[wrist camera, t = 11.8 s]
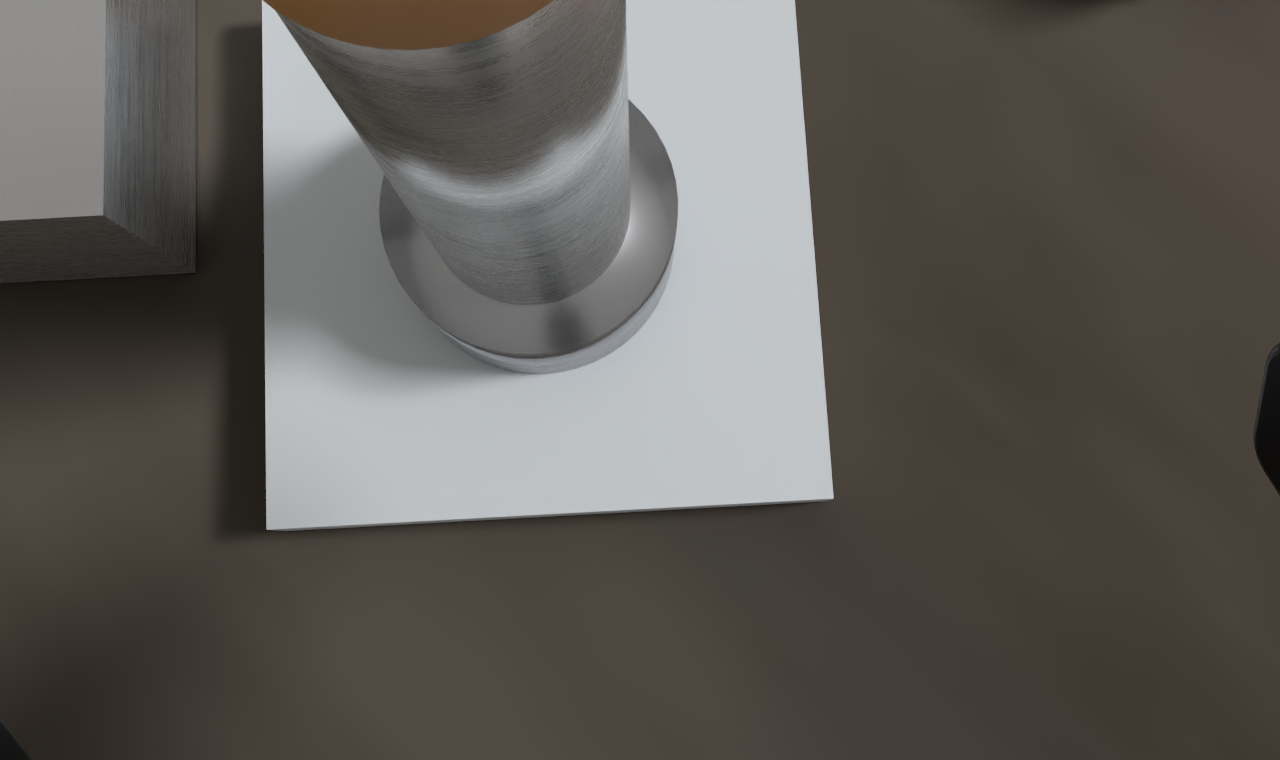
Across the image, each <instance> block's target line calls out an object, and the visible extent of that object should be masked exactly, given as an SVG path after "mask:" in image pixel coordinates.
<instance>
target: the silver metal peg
mask: <svg viewBox="0 0 1280 760" xmlns="http://www.w3.org/2000/svg"><path fill="white" fill-rule="evenodd" d="M263 1H264V2H265V3H267V4H268V5H269V6H270V7H272V8H273V9H274V10H275V11H276V13H277V14H278V16H279V17H280V19H281V20H282V22H283V23H284V25H285V26H286V28H287V29H288V31H289V32H290V33H291V35H292V36H293V38H294V39H295V41H296V42H297V44H298V45H299V47H300V48H301V50H302V51H303V53H304V54H305V56H306V57H307V59H308V60H309V62H310V63H311V65H312V66H313V68H314V69H315V71H316V72H317V74H318V75H319V77H320V78H321V80H322V81H323V83H324V84H325V86H326V87H327V89H328V90H329V92H330V93H331V95H332V96H333V98H334V99H335V101H336V102H337V104H338V105H339V107H340V108H341V110H342V111H343V113H344V114H345V116H346V117H347V119H348V120H349V122H350V123H351V125H352V126H353V128H354V129H355V131H356V132H357V134H358V135H359V137H360V138H361V140H362V141H363V143H364V144H365V146H366V147H367V149H368V150H369V152H370V153H371V155H372V156H373V158H374V159H375V161H376V162H377V164H378V165H379V167H380V168H381V170H382V171H383V173H384V176H383V181H382V186H381V191H380V204H379V217H380V230H381V235H382V240H383V245H384V249H385V252H386V254H387V257H388V260H389V263H390V266H391V268H392V270H393V272H394V274H395V275H396V277H397V279H398V281H399V283H400V285H401V286H402V287H403V289H404V290H405V292H406V293H407V294H408V296H409V297H410V299H411V300H412V301H413V302H414V303H415V304H416V305H417V307H418V308H419V309H420V310H421V311H422V312H423V313H424V314H425V316H426V317H427V318H428V319H429V320H430V321H431V322H432V323H433V324H434V326H435V327H436V328H437V329H438V330H439V331H440V332H441V333H442V334H443V335H444V336H445V337H446V338H447V339H448V340H449V341H450V342H452V343H453V344H454V345H455V346H456V347H458V348H459V349H460V350H462V351H464V352H465V353H467V354H468V355H470V356H472V357H473V358H475V359H477V360H479V361H482V362H484V363H486V364H488V365H491V366H494V367H497V368H501V369H504V370H507V371H513V372H519V373H526V374H548V373H558V372H564V371H568V370H573V369H577V368H580V367H583V366H585V365H588V364H591V363H594V362H596V361H598V360H600V359H602V358H603V357H605V356H607V355H609V354H611V353H612V352H614V351H615V350H617V349H618V348H619V347H621V346H622V345H624V344H625V343H626V342H627V341H628V340H629V339H630V338H632V337H633V336H634V335H635V334H636V333H637V332H638V331H639V330H640V329H641V327H642V326H643V325H644V324H645V323H646V321H647V320H648V319H649V318H650V316H651V315H652V313H653V311H654V310H655V308H656V307H657V305H658V303H659V301H660V299H661V297H662V295H663V293H664V290H665V288H666V285H667V282H668V279H669V276H670V272H671V267H672V261H673V255H674V247H675V238H676V230H677V221H678V195H677V185H676V179H675V175H674V171H673V167H672V163H671V161H670V158H669V156H668V153H667V151H666V148H665V146H664V144H663V142H662V141H661V139H660V137H659V135H658V133H657V132H656V130H655V129H654V127H653V126H652V125H651V123H650V122H649V121H648V119H647V118H646V117H645V115H644V114H643V113H642V112H641V111H640V110H639V109H638V108H637V107H636V106H635V105H634V104H633V103H632V102H631V101H630V100H629V99H628V70H627V27H626V0H263Z"/></svg>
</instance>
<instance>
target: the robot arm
mask: <svg viewBox="0 0 1280 760" xmlns="http://www.w3.org/2000/svg"><path fill="white" fill-rule="evenodd" d="M1254 446H1255V450H1256V454H1257V457H1258V459H1259V462H1260V464H1261V466H1262V468H1263V470H1264V472H1265V473H1266V475H1267V476H1268V478H1269V479H1270V481H1271V483H1272V484H1273V486H1274V487H1275V489H1276V490H1277V492H1278V493H1279V495H1280V343H1279V344H1278V345H1276V346H1275V347H1274V348H1273V349H1272V351H1271V352H1270V354H1269V355H1268V358H1267V361H1266V365H1265V371H1264V377H1263V382H1262V388H1261V394H1260V399H1259V405H1258V411H1257V416H1256V422H1255V428H1254ZM0 760H32V759H31V757H30V755H29V754H28V753H27V752H26V750H25V749H24V748H23V746H22V745H21V744H20V742H19V741H18V740H17V738H16V737H15V736H14V734H13V733H12V732H11V731H10V729H9V728H8V727H7V725H6V724H5V723H4V721H3V720H2V719H1V717H0Z"/></svg>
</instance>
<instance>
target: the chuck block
mask: <svg viewBox="0 0 1280 760" xmlns="http://www.w3.org/2000/svg"><path fill="white" fill-rule="evenodd" d="M184 273H196V0H0V283H19V282H37V281H56V280H74V279H92V278H111V277H129V276H147V275H166V274H184Z"/></svg>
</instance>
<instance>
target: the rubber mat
mask: <svg viewBox="0 0 1280 760" xmlns="http://www.w3.org/2000/svg"><path fill="white" fill-rule="evenodd" d="M626 27H627V70H628V99H629V100H630V101H631V102H632V103H633V104H634V105H635V106H636V107H637V108H638V109H639V110H640V111H641V112H642V113H643V114H644V115H645V117H646V118H647V119H648V121H649V122H650V123H651V125H652V126H653V127H654V129H655V130H656V132H657V133H658V135H659V137H660V139H661V141H662V142H663V144H664V146H665V148H666V151H667V153H668V156H669V158H670V161H671V163H672V167H673V171H674V175H675V179H676V185H677V195H678V221H677V230H676V238H675V247H674V255H673V261H672V267H671V272H670V276H669V279H668V282H667V285H666V288H665V290H664V293H663V295H662V297H661V299H660V301H659V303H658V305H657V307H656V308H655V310H654V311H653V313H652V315H651V316H650V318H649V319H648V320H647V321H646V323H645V324H644V325H643V326H642V327H641V329H640V330H639V331H638V332H637V333H636V334H635V335H634V336H633V337H632V338H630V339H629V340H628V341H627V342H626V343H625V344H624V345H622V346H621V347H619V348H618V349H617V350H615V351H614V352H612V353H611V354H609V355H607V356H605V357H603V358H602V359H600V360H598V361H596V362H594V363H591V364H588V365H585V366H583V367H580V368H577V369H573V370H568V371H564V372H558V373H548V374H526V373H519V372H513V371H507V370H504V369H501V368H497V367H494V366H491V365H488V364H486V363H484V362H482V361H479V360H477V359H475V358H473V357H472V356H470V355H468V354H467V353H465V352H464V351H462V350H460V349H459V348H458V347H456V346H455V345H454V344H453V343H452V342H450V341H449V340H448V339H447V338H446V337H445V336H444V335H443V334H442V333H441V332H440V331H439V330H438V329H437V328H436V327H435V326H434V324H433V323H432V322H431V321H430V320H429V319H428V318H427V317H426V316H425V314H424V313H423V312H422V311H421V310H420V309H419V308H418V307H417V305H416V304H415V303H414V302H413V301H412V300H411V299H410V297H409V296H408V294H407V293H406V292H405V290H404V289H403V287H402V286H401V285H400V283H399V281H398V279H397V277H396V275H395V274H394V272H393V270H392V268H391V266H390V263H389V260H388V257H387V254H386V252H385V249H384V245H383V240H382V235H381V230H380V217H379V204H380V191H381V186H382V181H383V176H384V173H383V171H382V170H381V168H380V167H379V165H378V164H377V162H376V161H375V159H374V158H373V156H372V155H371V153H370V152H369V150H368V149H367V147H366V146H365V144H364V143H363V141H362V140H361V138H360V137H359V135H358V134H357V132H356V131H355V129H354V128H353V126H352V125H351V123H350V122H349V120H348V119H347V117H346V116H345V114H344V113H343V111H342V110H341V108H340V107H339V105H338V104H337V102H336V101H335V99H334V98H333V96H332V95H331V93H330V92H329V90H328V89H327V87H326V86H325V84H324V83H323V81H322V80H321V78H320V77H319V75H318V74H317V72H316V71H315V69H314V68H313V66H312V65H311V63H310V62H309V60H308V59H307V57H306V56H305V54H304V53H303V51H302V50H301V48H300V47H299V45H298V44H297V42H296V41H295V39H294V38H293V36H292V35H291V33H290V32H289V31H288V29H287V28H286V26H285V25H284V23H283V22H282V20H281V19H280V17H279V16H278V14H277V13H276V11H275V10H274V9H273V8H272V7H270V6H269V5H268V4H267V3H265V2H264V1H263V0H262V58H263V179H264V301H265V423H266V530H278V531H294V530H312V529H331V528H349V527H367V526H385V525H403V524H422V523H440V522H458V521H476V520H494V519H513V518H531V517H549V516H567V515H585V514H604V513H622V512H640V511H658V510H676V509H695V508H713V507H731V506H749V505H767V504H785V503H804V502H822V501H827V500H831V499H834V498H833V485H832V472H831V459H830V446H829V434H828V421H827V408H826V395H825V382H824V370H823V357H822V344H821V331H820V318H819V306H818V293H817V280H816V267H815V254H814V242H813V229H812V216H811V203H810V190H809V177H808V165H807V152H806V139H805V126H804V113H803V101H802V88H801V75H800V62H799V49H798V37H797V24H796V11H795V0H626Z"/></svg>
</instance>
